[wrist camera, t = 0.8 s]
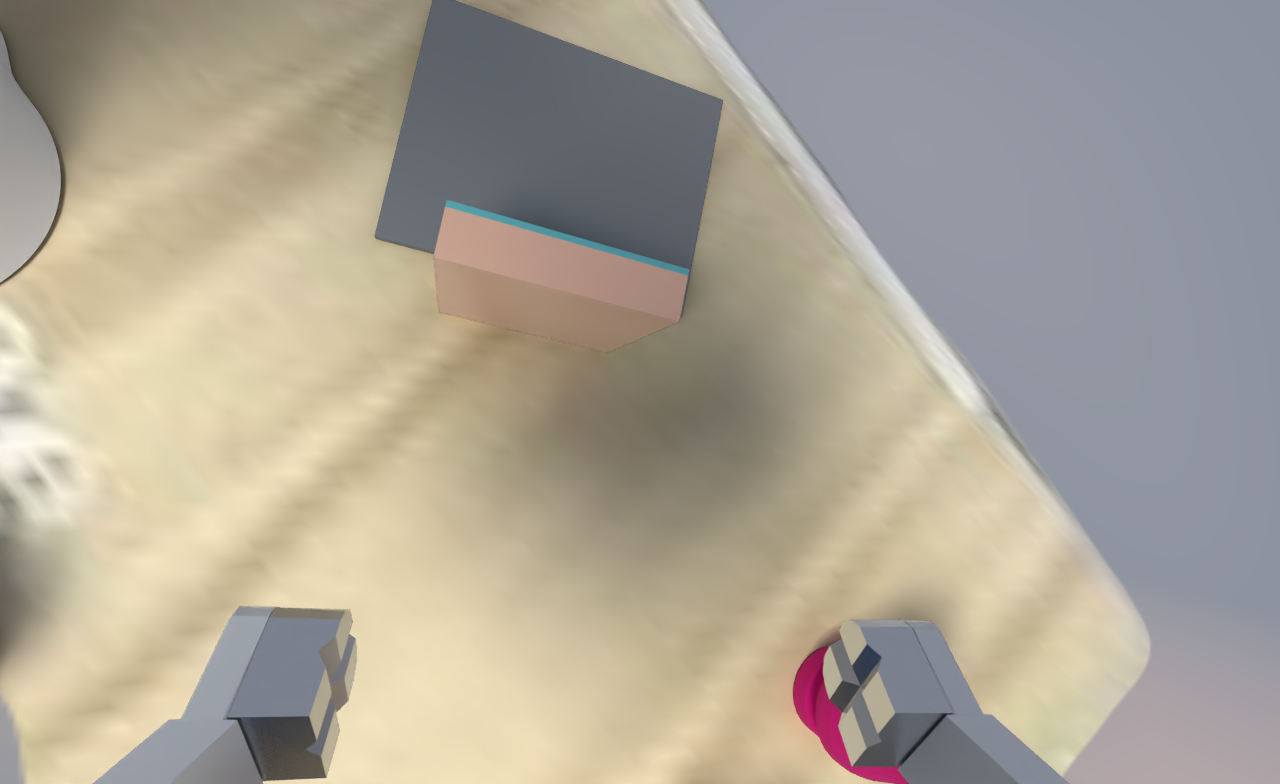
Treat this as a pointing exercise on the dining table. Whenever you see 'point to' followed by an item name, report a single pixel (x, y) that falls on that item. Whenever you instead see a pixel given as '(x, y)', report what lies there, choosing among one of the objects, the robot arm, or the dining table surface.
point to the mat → (547, 140)
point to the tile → (551, 282)
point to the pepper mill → (830, 719)
